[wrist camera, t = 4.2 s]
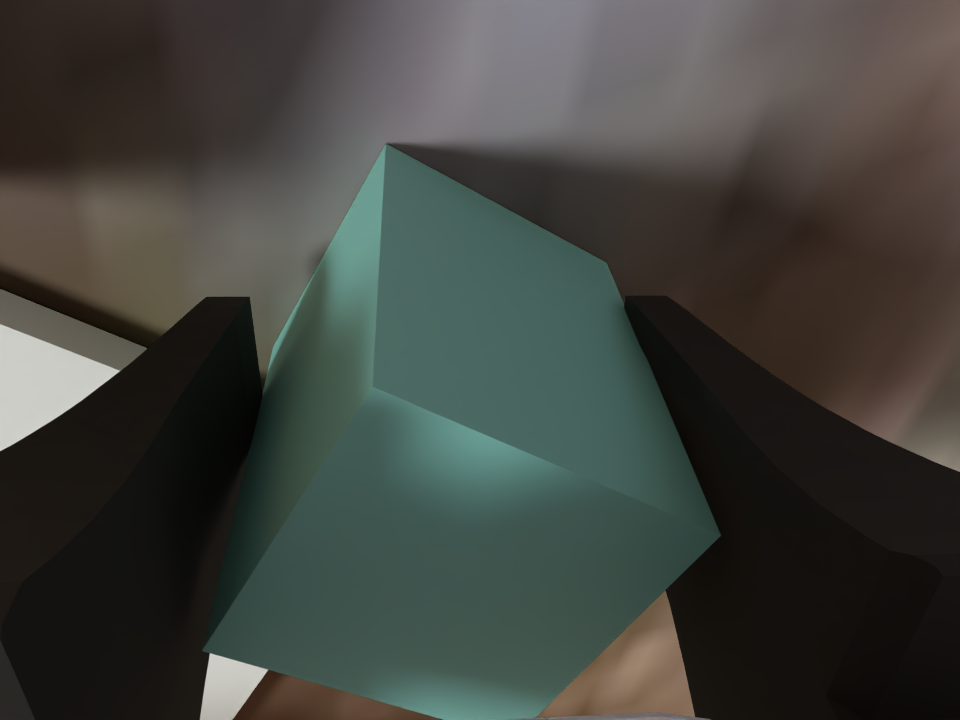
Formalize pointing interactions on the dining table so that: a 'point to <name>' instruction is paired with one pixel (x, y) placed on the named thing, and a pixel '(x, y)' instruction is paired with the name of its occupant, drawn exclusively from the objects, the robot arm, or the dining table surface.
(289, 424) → the teal block
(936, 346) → the dining table surface
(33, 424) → the mat
